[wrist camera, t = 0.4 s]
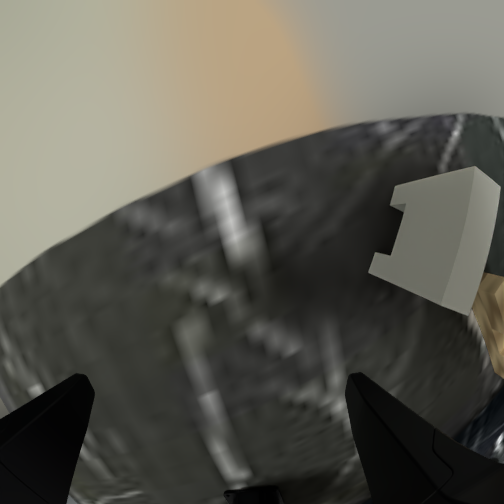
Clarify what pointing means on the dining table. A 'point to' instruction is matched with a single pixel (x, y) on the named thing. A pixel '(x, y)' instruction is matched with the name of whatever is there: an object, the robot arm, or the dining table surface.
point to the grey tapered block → (442, 237)
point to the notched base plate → (491, 317)
